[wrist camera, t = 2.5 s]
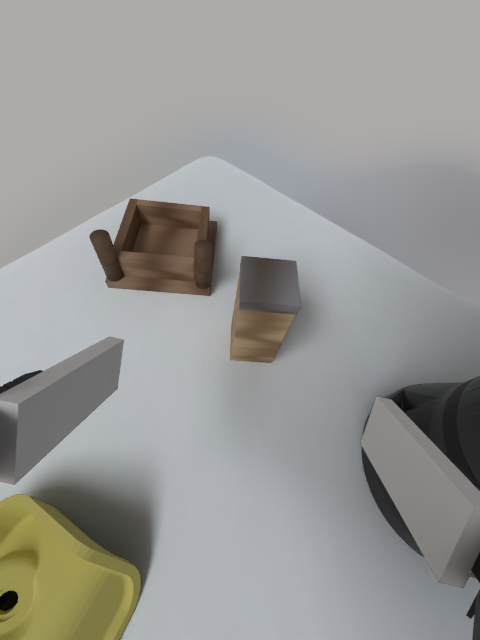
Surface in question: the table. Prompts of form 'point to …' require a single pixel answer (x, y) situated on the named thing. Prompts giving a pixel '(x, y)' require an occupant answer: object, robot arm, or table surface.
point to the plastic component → (60, 577)
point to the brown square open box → (159, 248)
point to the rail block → (263, 308)
